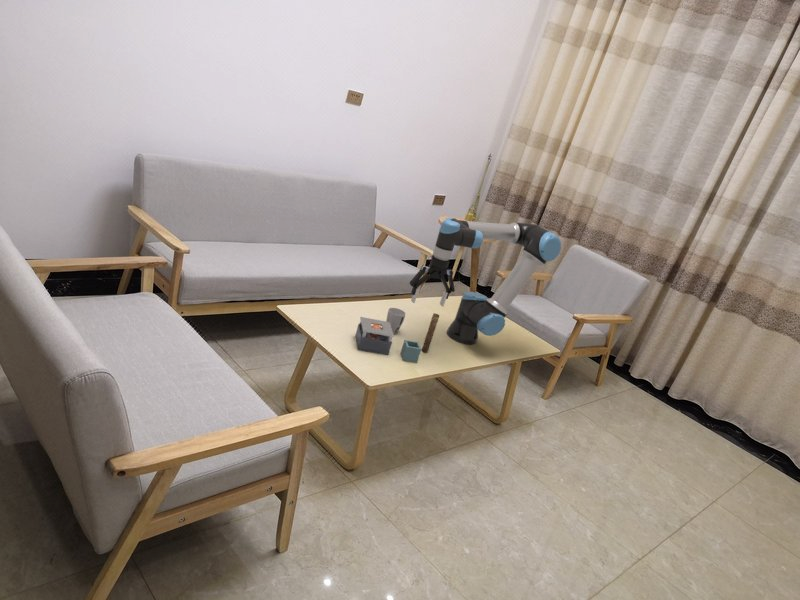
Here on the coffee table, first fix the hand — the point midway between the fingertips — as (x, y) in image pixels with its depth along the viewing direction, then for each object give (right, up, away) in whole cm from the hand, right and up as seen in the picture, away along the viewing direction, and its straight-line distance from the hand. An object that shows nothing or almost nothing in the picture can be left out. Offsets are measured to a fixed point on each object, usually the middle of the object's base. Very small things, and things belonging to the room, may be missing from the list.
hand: (427, 303), depth 231 cm
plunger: (-22, -13, -4) cm, 26 cm away
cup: (-16, -13, +17) cm, 27 cm away
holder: (-8, -23, -4) cm, 25 cm away
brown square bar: (-1, -21, +7) cm, 22 cm away
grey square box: (-24, -18, -2) cm, 30 cm away
